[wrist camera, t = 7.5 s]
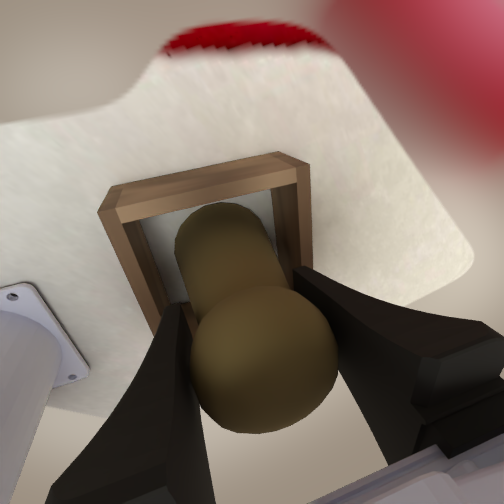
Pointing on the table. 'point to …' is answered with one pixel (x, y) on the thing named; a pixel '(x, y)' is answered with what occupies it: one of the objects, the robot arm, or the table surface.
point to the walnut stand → (198, 193)
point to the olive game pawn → (250, 326)
